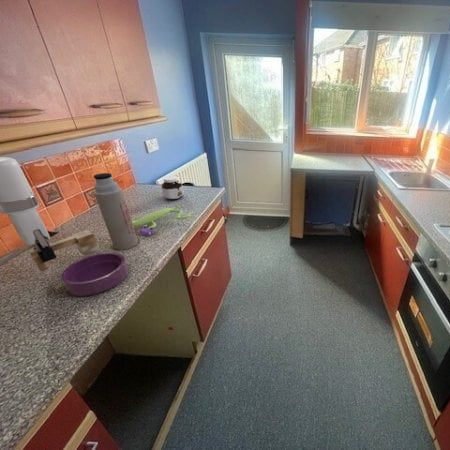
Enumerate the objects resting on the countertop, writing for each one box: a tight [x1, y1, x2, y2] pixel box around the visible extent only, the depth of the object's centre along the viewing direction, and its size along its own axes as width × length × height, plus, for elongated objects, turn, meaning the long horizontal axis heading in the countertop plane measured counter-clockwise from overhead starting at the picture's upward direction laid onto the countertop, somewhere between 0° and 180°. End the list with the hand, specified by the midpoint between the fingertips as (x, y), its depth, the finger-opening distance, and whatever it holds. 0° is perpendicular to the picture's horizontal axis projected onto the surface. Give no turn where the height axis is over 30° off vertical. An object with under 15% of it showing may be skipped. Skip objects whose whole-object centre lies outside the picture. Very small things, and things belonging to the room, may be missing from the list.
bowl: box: [60, 252, 129, 297], centre depth 78 cm, size 16×16×5 cm
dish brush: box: [28, 229, 101, 272], centre depth 80 cm, size 15×5×7 cm, turn 147°
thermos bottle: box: [93, 172, 139, 251], centre depth 91 cm, size 8×8×28 cm
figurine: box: [131, 204, 196, 236], centre depth 112 cm, size 18×27×6 cm
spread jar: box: [161, 175, 185, 201], centre depth 139 cm, size 12×11×12 cm
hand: (48, 257), depth 77 cm, fingers closed on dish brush
